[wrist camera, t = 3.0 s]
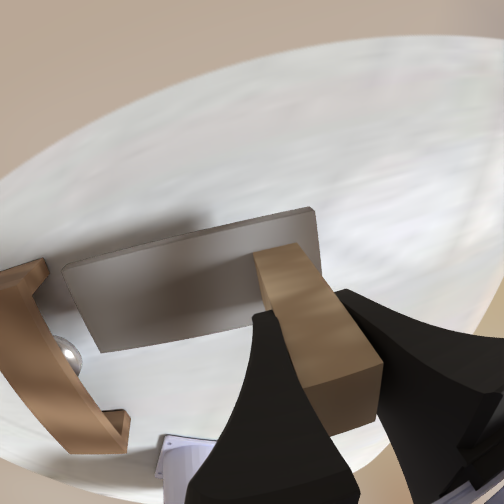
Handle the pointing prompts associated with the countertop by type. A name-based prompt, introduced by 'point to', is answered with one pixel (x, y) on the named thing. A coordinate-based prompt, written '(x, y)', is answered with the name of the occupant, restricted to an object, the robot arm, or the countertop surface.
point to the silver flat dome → (70, 354)
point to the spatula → (236, 304)
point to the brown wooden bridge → (50, 371)
